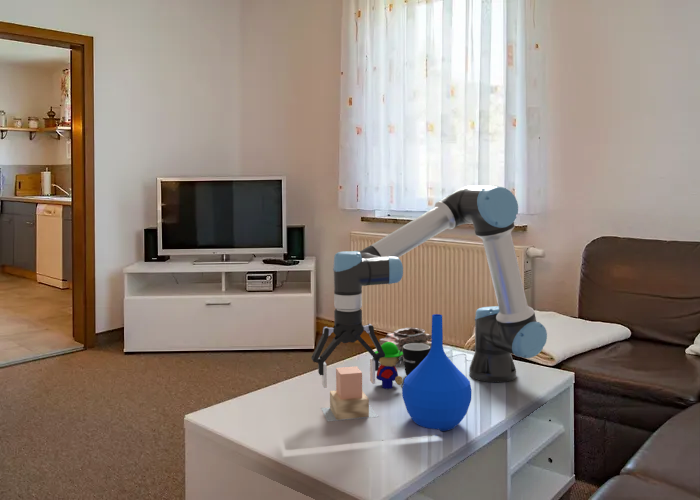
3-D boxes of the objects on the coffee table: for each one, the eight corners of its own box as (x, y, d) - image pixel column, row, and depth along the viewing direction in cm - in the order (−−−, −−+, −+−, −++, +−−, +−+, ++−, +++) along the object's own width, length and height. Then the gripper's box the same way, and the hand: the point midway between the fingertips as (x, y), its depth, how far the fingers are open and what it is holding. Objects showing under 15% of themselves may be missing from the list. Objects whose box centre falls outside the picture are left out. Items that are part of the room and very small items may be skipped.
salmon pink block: (357, 390, 183) (356, 366, 182) (362, 397, 177) (362, 372, 176) (336, 392, 181) (336, 367, 180) (340, 399, 175) (340, 374, 175)
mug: (397, 375, 216) (397, 345, 214) (417, 370, 221) (417, 341, 220) (421, 384, 206) (421, 353, 205) (442, 379, 211) (442, 349, 210)
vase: (422, 407, 186) (423, 305, 183) (482, 420, 176) (484, 312, 172) (389, 428, 171) (389, 317, 168) (452, 444, 161) (453, 326, 157)
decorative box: (441, 358, 235) (441, 332, 234) (395, 367, 225) (394, 340, 224) (419, 350, 246) (419, 325, 245) (374, 358, 236) (374, 332, 235)
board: (369, 408, 186) (369, 403, 186) (378, 420, 176) (378, 416, 176) (321, 412, 183) (321, 408, 183) (327, 425, 173) (327, 421, 173)
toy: (402, 396, 196) (402, 347, 194) (371, 394, 197) (371, 346, 196) (406, 384, 206) (406, 338, 204) (377, 383, 208) (376, 337, 206)
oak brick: (361, 405, 185) (360, 388, 184) (368, 416, 176) (368, 398, 176) (330, 408, 183) (329, 390, 182) (336, 419, 174) (336, 401, 174)
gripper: (388, 303, 182) (388, 376, 185) (300, 308, 177) (301, 383, 180) (396, 308, 175) (396, 384, 178) (304, 314, 170) (306, 392, 172)
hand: (348, 384), depth 179 cm, fingers open, 13 cm apart
